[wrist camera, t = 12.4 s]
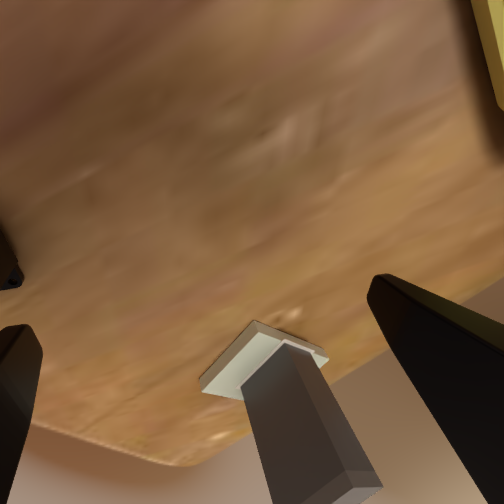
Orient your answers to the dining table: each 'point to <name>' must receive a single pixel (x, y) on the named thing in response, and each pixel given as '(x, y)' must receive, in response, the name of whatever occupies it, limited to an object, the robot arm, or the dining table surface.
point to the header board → (250, 359)
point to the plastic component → (492, 41)
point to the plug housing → (305, 434)
